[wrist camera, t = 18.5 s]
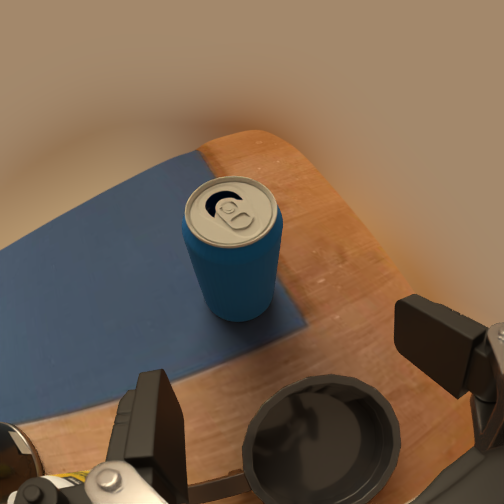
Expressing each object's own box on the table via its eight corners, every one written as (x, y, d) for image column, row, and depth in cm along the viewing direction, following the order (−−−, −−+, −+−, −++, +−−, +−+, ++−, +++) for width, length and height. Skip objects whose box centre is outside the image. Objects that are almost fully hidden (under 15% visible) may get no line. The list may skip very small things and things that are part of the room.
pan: (274, 525, 16) (278, 541, 12) (223, 411, 22) (218, 410, 18) (397, 466, 18) (419, 470, 15) (349, 360, 24) (364, 349, 21)
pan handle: (195, 495, 17) (186, 506, 14) (188, 479, 18) (178, 488, 15) (252, 480, 18) (252, 490, 15) (245, 464, 19) (244, 472, 16)
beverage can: (244, 251, 30) (240, 159, 20) (287, 296, 27) (307, 213, 17) (191, 287, 28) (159, 203, 18) (232, 338, 25) (218, 274, 15)
